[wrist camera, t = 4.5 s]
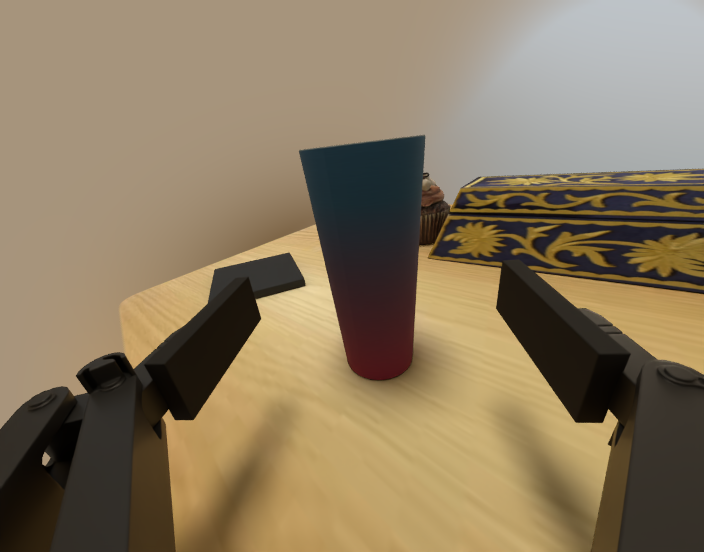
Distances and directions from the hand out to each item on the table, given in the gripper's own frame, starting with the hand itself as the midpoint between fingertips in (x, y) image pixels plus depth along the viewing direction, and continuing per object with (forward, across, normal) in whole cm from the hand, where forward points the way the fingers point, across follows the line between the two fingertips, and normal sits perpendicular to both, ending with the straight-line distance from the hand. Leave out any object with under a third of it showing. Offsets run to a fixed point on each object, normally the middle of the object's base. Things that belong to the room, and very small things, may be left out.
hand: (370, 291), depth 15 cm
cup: (+4, 0, -8) cm, 9 cm away
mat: (+19, -16, -8) cm, 27 cm away
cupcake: (+32, +6, -8) cm, 34 cm away
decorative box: (+20, +22, -8) cm, 31 cm away
